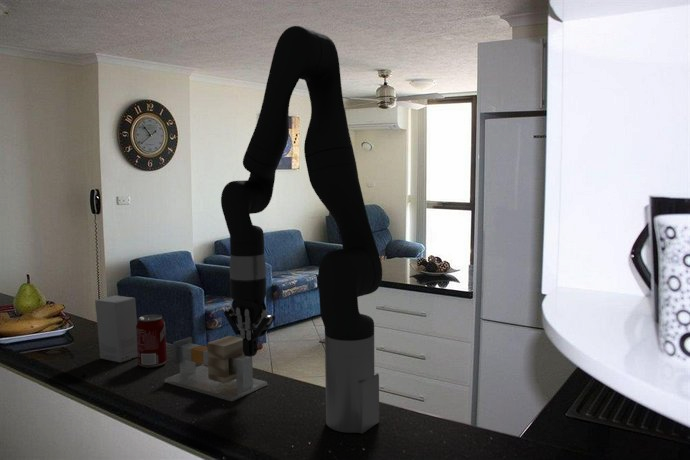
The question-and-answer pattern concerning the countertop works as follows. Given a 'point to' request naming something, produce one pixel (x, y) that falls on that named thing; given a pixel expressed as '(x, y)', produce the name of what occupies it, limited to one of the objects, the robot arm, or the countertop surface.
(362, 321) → the robot arm
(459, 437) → the countertop surface
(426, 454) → the countertop surface
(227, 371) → the tan notched block
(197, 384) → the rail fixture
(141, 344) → the soda can
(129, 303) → the skincare box
